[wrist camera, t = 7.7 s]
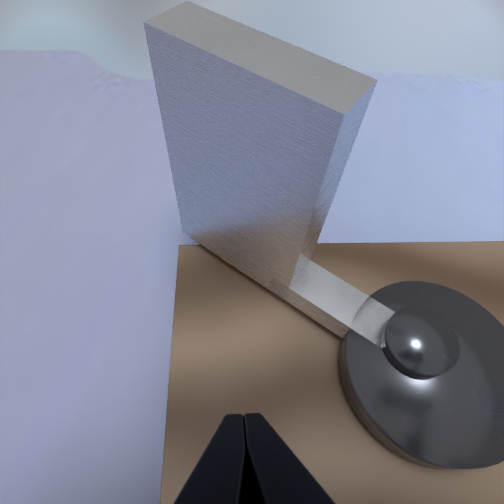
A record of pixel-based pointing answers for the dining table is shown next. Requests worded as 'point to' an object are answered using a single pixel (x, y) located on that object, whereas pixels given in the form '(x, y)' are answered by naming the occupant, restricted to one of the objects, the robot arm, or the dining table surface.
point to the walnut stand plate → (309, 369)
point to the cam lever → (318, 230)
